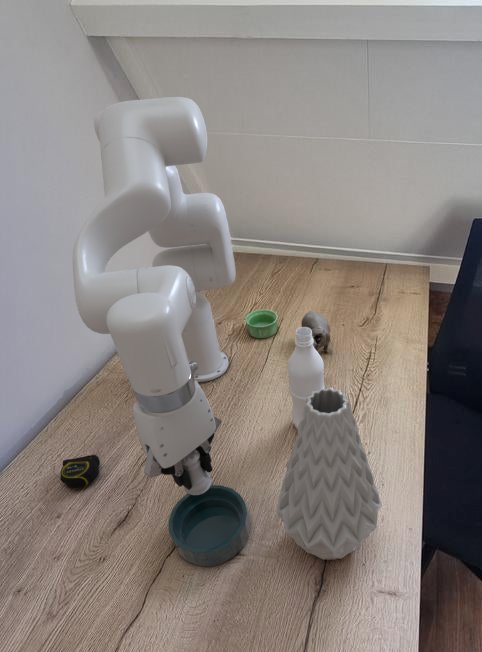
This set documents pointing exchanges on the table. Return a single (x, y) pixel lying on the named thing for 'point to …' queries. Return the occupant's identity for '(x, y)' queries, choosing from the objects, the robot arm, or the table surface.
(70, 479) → the tape measure
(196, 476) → the rook chess piece
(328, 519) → the vase
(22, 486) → the table surface
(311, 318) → the rhinoceros figurine
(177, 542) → the bowl
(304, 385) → the water bottle
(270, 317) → the ramekin
